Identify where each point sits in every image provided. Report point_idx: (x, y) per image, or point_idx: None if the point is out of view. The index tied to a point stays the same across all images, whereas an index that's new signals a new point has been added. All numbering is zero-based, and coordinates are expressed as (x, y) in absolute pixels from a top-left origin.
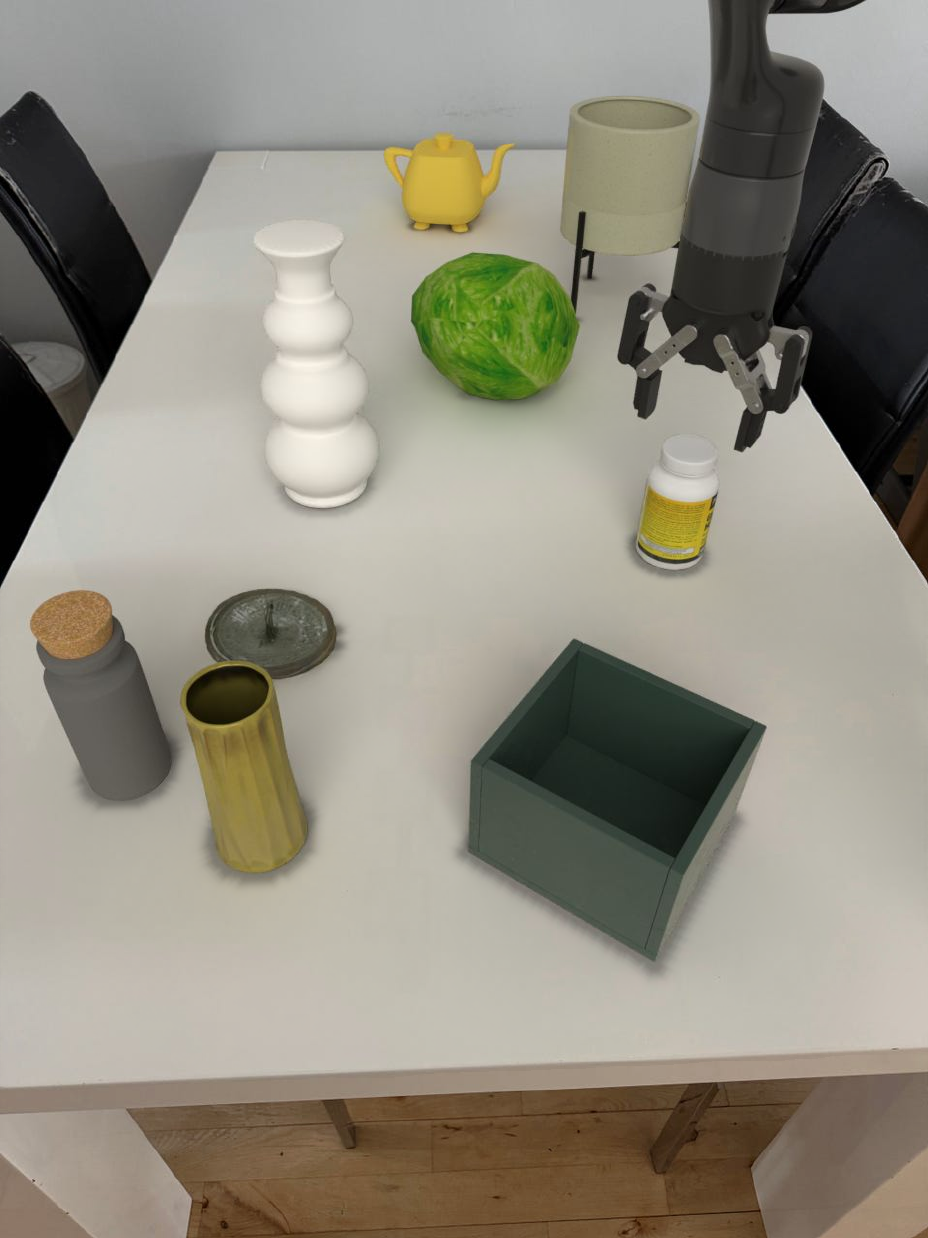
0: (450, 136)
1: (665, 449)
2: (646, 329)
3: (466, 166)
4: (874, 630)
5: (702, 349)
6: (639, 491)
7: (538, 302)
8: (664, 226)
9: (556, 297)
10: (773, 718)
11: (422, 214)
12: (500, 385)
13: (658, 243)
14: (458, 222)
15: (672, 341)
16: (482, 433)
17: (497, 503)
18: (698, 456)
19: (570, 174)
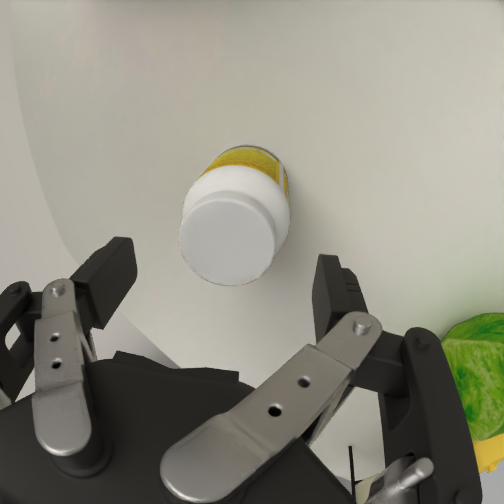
0: (489, 471)
1: (262, 222)
2: (387, 434)
3: (480, 464)
4: (62, 181)
5: (168, 413)
6: (315, 263)
7: (480, 408)
8: (367, 493)
9: None
10: (86, 35)
11: None
12: (480, 321)
13: (369, 482)
14: None
15: (283, 424)
16: (474, 275)
17: (443, 175)
18: (203, 230)
19: None
